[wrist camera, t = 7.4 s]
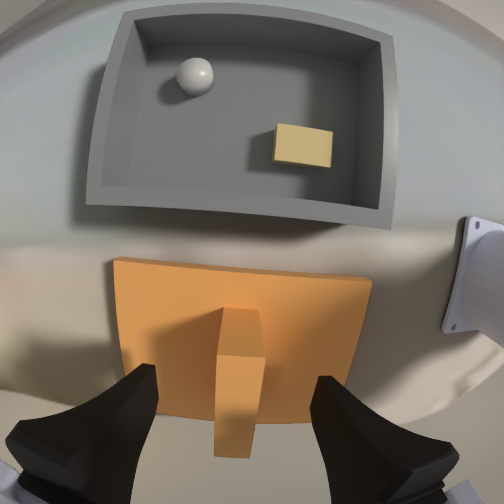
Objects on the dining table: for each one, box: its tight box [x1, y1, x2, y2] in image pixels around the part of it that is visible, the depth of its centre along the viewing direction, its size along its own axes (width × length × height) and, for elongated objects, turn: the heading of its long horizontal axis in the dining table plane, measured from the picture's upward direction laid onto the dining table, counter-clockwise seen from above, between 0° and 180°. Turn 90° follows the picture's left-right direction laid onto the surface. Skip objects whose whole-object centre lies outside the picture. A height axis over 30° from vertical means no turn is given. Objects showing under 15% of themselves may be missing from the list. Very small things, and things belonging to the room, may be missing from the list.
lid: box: [113, 257, 372, 458], centre depth 12 cm, size 12×9×6 cm
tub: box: [85, 3, 398, 230], centre depth 10 cm, size 12×9×4 cm
